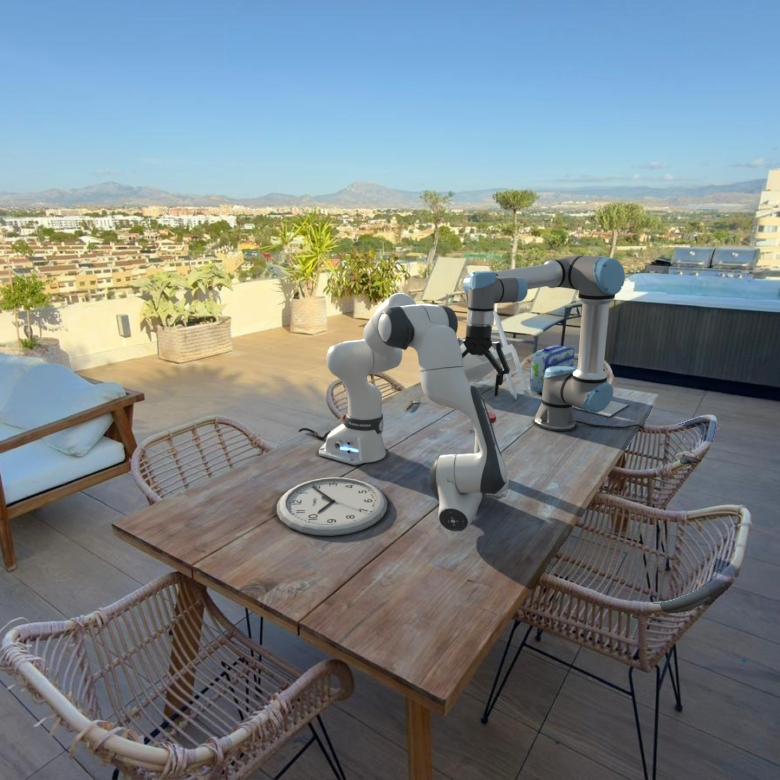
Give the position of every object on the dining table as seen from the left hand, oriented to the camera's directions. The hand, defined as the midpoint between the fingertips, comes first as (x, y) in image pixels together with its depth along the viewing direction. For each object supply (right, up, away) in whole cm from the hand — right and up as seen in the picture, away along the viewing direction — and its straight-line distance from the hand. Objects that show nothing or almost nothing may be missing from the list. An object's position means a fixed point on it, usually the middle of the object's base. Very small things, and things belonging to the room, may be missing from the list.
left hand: (476, 469), depth 151 cm
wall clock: (-41, -9, -8) cm, 42 cm away
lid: (+4, +15, +6) cm, 17 cm away
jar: (+4, -3, +12) cm, 13 cm away
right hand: (+1, +22, +11) cm, 25 cm away
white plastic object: (+17, +22, +92) cm, 96 cm away
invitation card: (+67, +16, +75) cm, 102 cm away
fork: (-15, +16, +72) cm, 76 cm away
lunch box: (+51, +23, +97) cm, 112 cm away
